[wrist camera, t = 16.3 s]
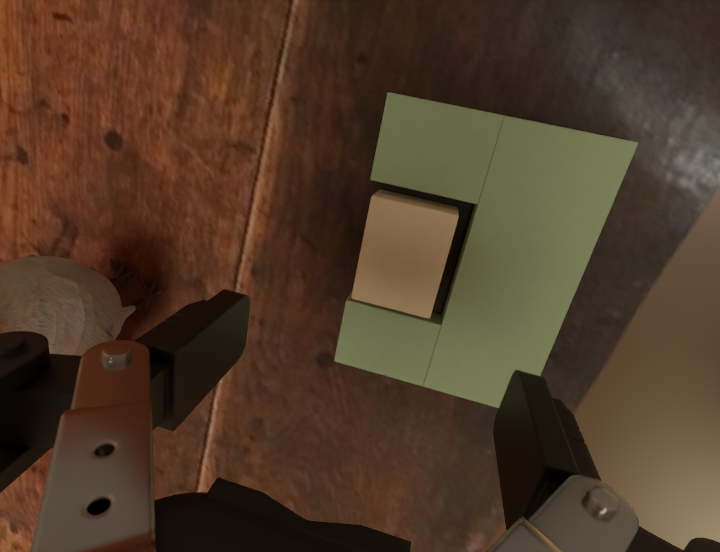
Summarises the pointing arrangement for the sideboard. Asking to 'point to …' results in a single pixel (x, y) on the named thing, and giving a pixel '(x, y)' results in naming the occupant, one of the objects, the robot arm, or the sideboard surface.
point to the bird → (64, 302)
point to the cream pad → (404, 252)
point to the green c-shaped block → (488, 243)
